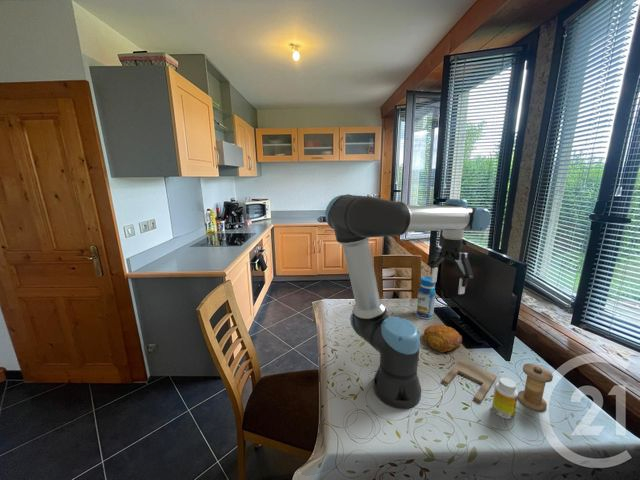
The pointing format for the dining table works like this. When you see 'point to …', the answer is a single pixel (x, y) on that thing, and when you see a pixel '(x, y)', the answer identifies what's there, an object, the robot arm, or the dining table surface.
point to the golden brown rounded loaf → (442, 337)
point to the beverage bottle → (426, 298)
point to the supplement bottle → (505, 398)
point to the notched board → (472, 377)
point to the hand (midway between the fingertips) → (446, 287)
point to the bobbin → (535, 387)
